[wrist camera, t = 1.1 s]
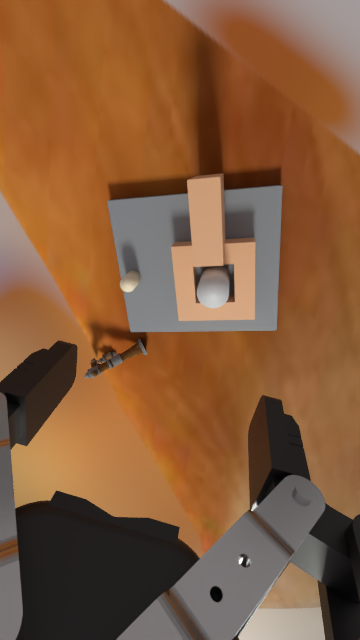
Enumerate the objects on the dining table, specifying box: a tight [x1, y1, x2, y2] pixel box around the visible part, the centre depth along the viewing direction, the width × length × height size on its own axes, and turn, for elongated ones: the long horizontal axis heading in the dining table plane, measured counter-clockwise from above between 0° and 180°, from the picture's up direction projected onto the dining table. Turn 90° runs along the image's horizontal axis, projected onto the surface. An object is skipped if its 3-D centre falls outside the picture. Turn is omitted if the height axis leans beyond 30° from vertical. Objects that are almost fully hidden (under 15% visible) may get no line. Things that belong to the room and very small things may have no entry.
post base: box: [107, 185, 282, 332], centre depth 33 cm, size 17×15×6 cm
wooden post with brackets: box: [85, 338, 147, 379], centre depth 41 cm, size 2×8×4 cm, turn 114°
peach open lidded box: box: [171, 173, 256, 321], centre depth 29 cm, size 14×8×8 cm, turn 6°
